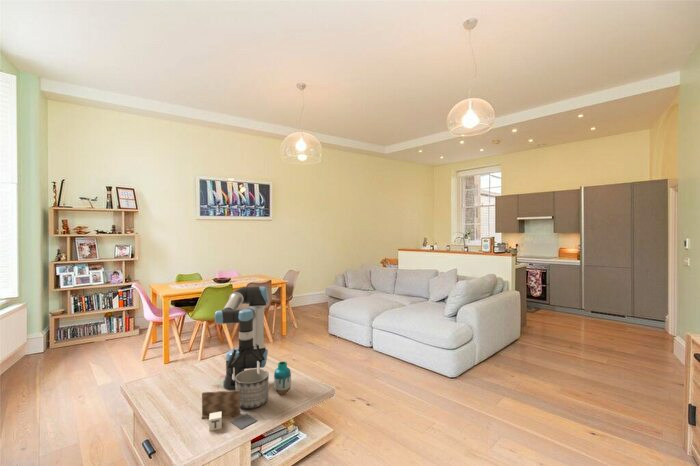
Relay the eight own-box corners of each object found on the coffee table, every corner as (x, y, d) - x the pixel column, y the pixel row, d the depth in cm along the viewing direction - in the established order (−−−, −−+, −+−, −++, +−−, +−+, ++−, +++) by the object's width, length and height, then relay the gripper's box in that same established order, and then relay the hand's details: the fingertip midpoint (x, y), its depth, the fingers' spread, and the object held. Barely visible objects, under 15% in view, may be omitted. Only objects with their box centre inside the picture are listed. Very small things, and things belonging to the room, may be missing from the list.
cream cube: (209, 424, 176) (209, 413, 176) (221, 422, 178) (221, 411, 178) (209, 431, 170) (209, 420, 170) (221, 428, 172) (221, 417, 172)
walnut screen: (200, 418, 181) (200, 395, 180) (204, 412, 187) (204, 390, 186) (238, 416, 183) (238, 393, 183) (240, 410, 189) (240, 388, 189)
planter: (250, 415, 184) (250, 386, 184) (228, 405, 194) (228, 377, 194) (275, 399, 200) (275, 373, 200) (253, 391, 210) (253, 366, 210)
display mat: (230, 422, 177) (230, 421, 177) (246, 414, 185) (246, 413, 185) (241, 429, 171) (241, 428, 171) (257, 420, 179) (257, 420, 179)
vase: (287, 397, 203) (287, 367, 202) (271, 396, 205) (271, 365, 204) (293, 389, 213) (293, 360, 212) (278, 387, 215) (278, 359, 215)
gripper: (223, 344, 171) (223, 384, 172) (270, 336, 185) (270, 373, 185) (220, 340, 178) (221, 379, 178) (266, 332, 191) (266, 368, 191)
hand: (246, 376), depth 181 cm, fingers open, 13 cm apart
